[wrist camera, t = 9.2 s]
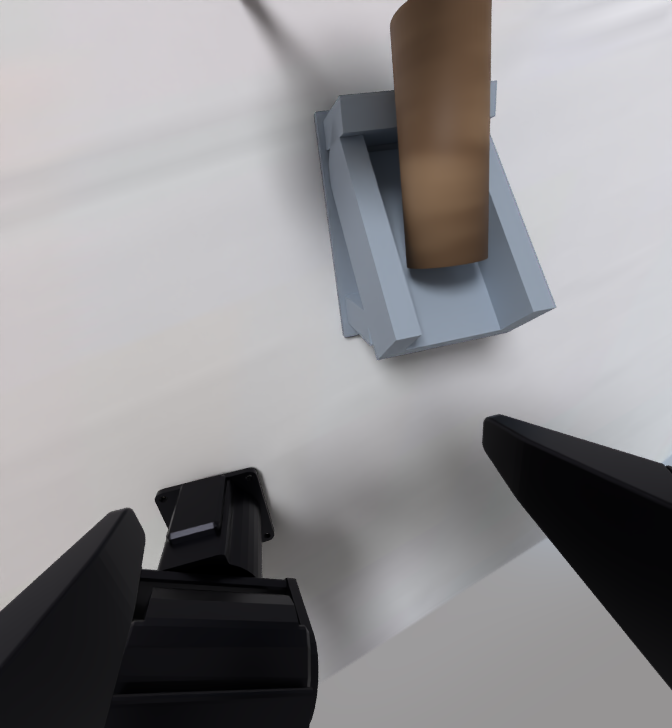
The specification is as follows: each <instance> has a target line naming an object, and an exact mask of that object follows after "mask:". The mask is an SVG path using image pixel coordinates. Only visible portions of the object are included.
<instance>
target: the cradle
mask: <svg viewBox="0 0 672 728" xmlns="http://www.w3.org/2000/svg"><path fill="white" fill-rule="evenodd" d="M496 90H497V81H491V83H490V118H492V117H494V116H495V111H496ZM314 119H315V127H316V135H317V142H318V150H319V157H320V165H321V172H322V180H323V188H324V195H325V203H326V210H327V218H328V225H329V233H330V241H331V248H332V256H333V263H334V271H335V278H336V286H337V294H338V301H339V309H340V316H341V324H342V331H343V336H344V337H349V336H354V335H359V334H360V336H361V337H362V338H363V339H364V340H365V341H366V342H367V343H368V344H369V345H373V347H374V350H375V354H376V358H377V360H381V359H385V358H390V357H395V356H399V355H404V354H409V353H413V352H418V351H423V350H427V349H432V348H437V347H441V346H446V345H451V344H455V343H460V342H465V341H470V340H474V339H479V338H484V337H488V336H493V335H498V334H502V333H507V332H509V331H511V330H513V329H515V328H517V327H519V326H521V325H523V324H525V323H527V322H529V321H531V320H532V319H534V318H536V317H538V316H540V315H542V314H544V313H546V312H548V311H550V310H552V309H554V308H556V305H555V302H554V300H553V297H552V295H551V292H550V289H549V287H548V284H547V281H546V279H545V276H544V274H543V271H542V268H541V266H540V263H539V261H538V258H537V255H536V253H535V250H534V247H533V245H532V242H531V240H530V237H529V234H528V232H527V229H526V227H525V224H524V221H523V219H522V216H521V213H520V211H519V208H518V206H517V203H516V200H515V198H514V195H513V193H512V190H511V187H510V185H509V182H508V179H507V177H506V174H505V172H504V169H503V166H502V164H501V161H500V158H499V156H498V153H497V151H496V148H495V145H494V143H493V140H492V138H491V135H490V158H489V232H488V258H487V259H485V260H482V261H479V262H474V263H469V264H464V265H457V266H450V267H441V268H429V269H410V268H407V263H406V248H405V234H404V220H403V205H402V191H401V177H400V162H399V148H398V134H397V120H396V105H395V91H394V90H392V91H381V92H370V93H360V94H349V95H339V97H338V99H337V100H336V102H335V103H334V105H333V106H332V108H331V110H328V111H319V112H315V114H314Z"/></svg>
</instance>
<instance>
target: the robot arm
mask: <svg viewBox="0 0 672 728" xmlns="http://www.w3.org/2000/svg"><path fill="white" fill-rule="evenodd" d="M482 444H483V448H484V450H485V452H486V454H487V455H488V457H489V458H490V460H491V461H492V463H493V464H494V466H495V467H496V469H497V470H498V472H499V473H500V475H501V476H502V478H503V479H504V481H505V482H506V484H507V485H508V487H509V488H510V490H511V491H512V493H513V494H514V496H515V497H516V498H517V500H518V501H519V502H520V504H521V505H522V506H523V508H524V509H525V510H526V511H527V513H528V514H529V515H530V516H531V517H532V519H533V520H534V521H535V522H536V524H537V525H538V526H539V527H540V529H541V530H542V531H543V532H544V533H545V535H546V536H547V537H548V538H549V540H550V541H551V542H552V543H553V545H554V546H555V547H556V548H557V549H558V551H559V552H560V553H561V554H562V556H563V557H564V558H565V559H566V561H567V562H568V563H569V564H570V565H571V567H572V568H573V569H574V570H575V572H576V573H577V574H578V575H579V576H580V578H581V579H582V580H583V581H584V583H585V584H586V585H587V586H588V588H589V589H590V590H591V591H592V593H593V594H594V595H595V596H596V597H597V599H598V600H599V601H600V602H601V603H602V605H603V606H604V607H605V609H606V610H607V611H608V612H609V613H610V615H611V616H612V617H613V618H614V619H615V621H616V622H617V623H618V624H619V626H620V627H621V628H622V629H623V631H624V632H625V633H626V634H627V636H628V637H629V638H630V639H631V641H632V642H633V643H634V644H635V645H636V647H637V648H638V649H639V650H640V652H641V653H642V654H643V655H644V657H645V658H646V659H647V660H648V661H649V663H650V664H651V665H652V666H653V668H654V669H655V670H656V671H657V673H658V674H659V675H660V676H661V677H662V679H663V680H664V681H665V682H666V684H667V685H668V686H669V687H670V688H671V690H672V466H665V465H664V464H662V463H658V462H655V461H652V460H649V459H645V458H642V457H639V456H635V455H632V454H629V453H626V452H622V451H619V450H616V449H612V448H609V447H606V446H603V445H599V444H596V443H593V442H589V441H586V440H583V439H580V438H576V437H573V436H570V435H567V434H563V433H560V432H557V431H553V430H550V429H547V428H544V427H540V426H537V425H534V424H530V423H527V422H524V421H521V420H517V419H514V418H511V417H508V416H504V415H501V414H498V415H493V416H489V417H486V418H485V419H484V422H483V438H482ZM247 475H252V476H251V477H248V476H247ZM162 496H165V497H167V498H162ZM155 502H156V504H157V506H158V508H159V511H160V513H161V515H162V517H163V519H164V521H165V523H166V525H167V528H168V532H167V535H166V542H165V545H164V549H163V552H162V556H161V559H160V563H159V566H158V569H157V570H148V569H142V560H143V554H144V547H145V533H144V530H143V528H142V526H141V524H140V523H139V521H138V519H137V517H136V515H135V513H134V511H133V510H132V509H131V508H124V509H120V510H116V511H112V512H110V513H108V514H107V515H106V516H105V517H104V518H103V519H102V520H101V521H100V522H98V523H97V524H96V525H95V526H94V527H93V528H92V529H91V530H90V531H88V532H87V533H86V534H85V535H84V536H83V537H82V538H81V539H80V540H79V541H77V542H76V543H75V544H74V545H73V546H72V547H71V548H70V549H69V550H68V551H66V552H65V553H64V554H63V555H62V556H61V557H60V558H59V559H58V560H57V561H55V562H54V563H53V564H52V565H51V566H50V567H49V568H48V569H47V570H46V571H44V572H43V573H42V574H41V575H40V576H39V577H38V578H37V579H36V580H34V581H33V582H32V583H31V584H30V585H29V586H28V587H27V588H26V589H25V590H23V591H22V592H21V593H20V594H19V595H18V596H17V597H16V598H15V599H14V600H12V601H11V602H10V603H9V604H8V605H7V606H6V607H5V608H4V609H3V610H1V611H0V728H309V724H310V722H311V720H312V716H313V712H314V709H315V703H316V698H317V689H318V653H317V646H316V640H315V636H314V633H313V630H312V627H311V624H310V621H309V618H308V615H307V612H306V609H305V606H304V603H303V600H302V597H301V594H300V591H299V588H298V585H297V582H296V579H294V578H286V579H285V580H282V579H269V578H262V542H265V541H269V540H271V539H272V538H273V537H274V528H273V525H272V521H271V518H270V514H269V511H268V508H267V504H266V501H265V497H264V494H263V491H262V487H261V484H260V480H259V477H258V473H257V471H256V470H255V469H254V468H246V469H242V470H238V471H234V472H230V473H226V474H222V475H217V476H213V477H209V478H205V479H201V480H197V481H193V482H189V483H185V484H181V485H177V486H173V487H169V488H165V489H162V490H159V491H158V492H157V495H156V497H155ZM266 533H268V534H266Z"/></svg>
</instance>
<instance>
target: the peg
mask: <svg viewBox="0 0 672 728" xmlns="http://www.w3.org/2000/svg"><path fill="white" fill-rule="evenodd" d="M491 9H492V0H408V1H407V2H405V3H404V4H403V5H402V6H401V7H400V8H399V9H398V10H397V12H396V13H395V14H394V16H393V18H392V20H391V23H390V34H391V48H392V62H393V77H394V91H395V105H396V120H397V134H398V148H399V162H400V177H401V191H402V205H403V220H404V234H405V248H406V263H407V268H410V269H429V268H441V267H450V266H457V265H464V264H469V263H474V262H479V261H482V260H485V259H487V258H488V232H489V158H490V83H491Z"/></svg>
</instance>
